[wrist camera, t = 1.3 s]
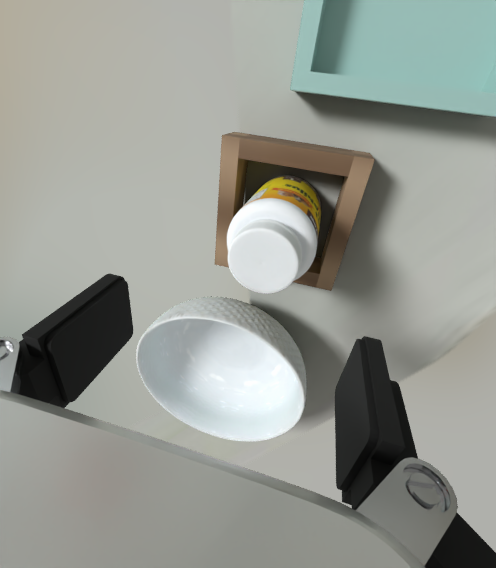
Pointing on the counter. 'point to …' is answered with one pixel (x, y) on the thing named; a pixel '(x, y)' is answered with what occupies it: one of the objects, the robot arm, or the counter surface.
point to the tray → (400, 53)
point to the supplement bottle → (275, 235)
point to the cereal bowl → (224, 369)
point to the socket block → (299, 156)
